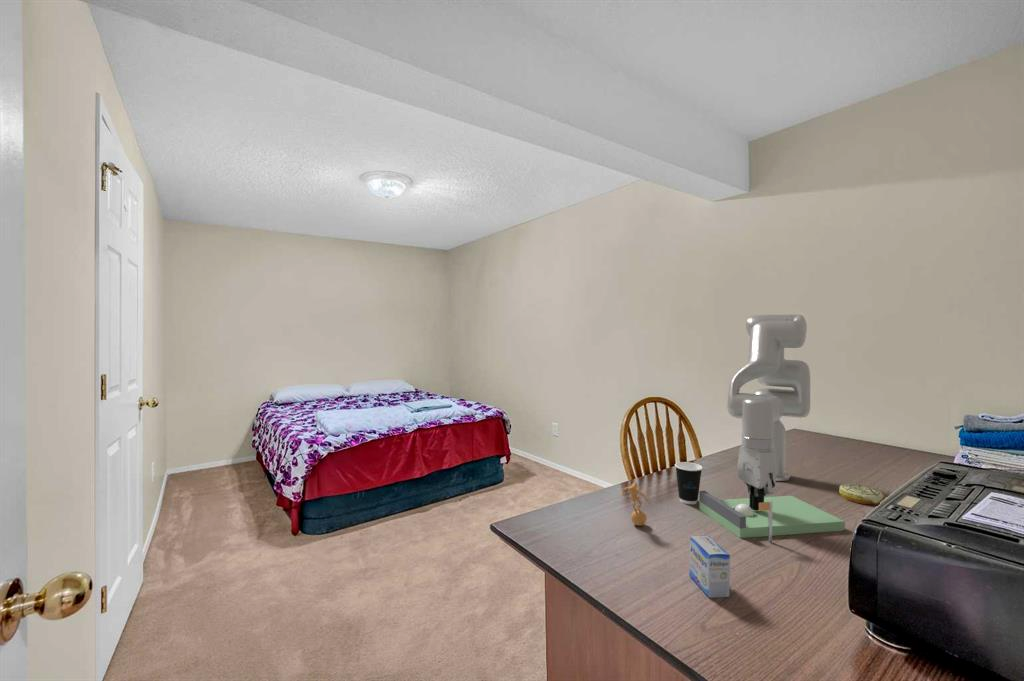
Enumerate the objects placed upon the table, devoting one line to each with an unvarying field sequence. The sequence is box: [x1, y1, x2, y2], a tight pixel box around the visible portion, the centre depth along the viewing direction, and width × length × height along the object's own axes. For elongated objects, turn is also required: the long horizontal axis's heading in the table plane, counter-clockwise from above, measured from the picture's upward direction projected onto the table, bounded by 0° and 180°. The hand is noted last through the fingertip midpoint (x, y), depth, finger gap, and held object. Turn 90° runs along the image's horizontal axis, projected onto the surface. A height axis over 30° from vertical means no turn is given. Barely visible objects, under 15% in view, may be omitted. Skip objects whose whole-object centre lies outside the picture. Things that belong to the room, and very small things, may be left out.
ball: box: [735, 504, 753, 517], centre depth 118 cm, size 4×4×4 cm
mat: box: [698, 490, 846, 539], centre depth 120 cm, size 18×30×5 cm, turn 98°
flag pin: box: [759, 501, 773, 544], centre depth 107 cm, size 1×4×10 cm, turn 99°
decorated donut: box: [838, 483, 884, 506], centre depth 134 cm, size 10×11×4 cm
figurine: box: [621, 482, 651, 527], centre depth 116 cm, size 8×6×12 cm
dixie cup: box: [674, 461, 703, 505], centre depth 133 cm, size 8×8×11 cm
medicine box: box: [688, 535, 731, 599], centre depth 88 cm, size 8×4×9 cm, turn 5°
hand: (756, 509), depth 119 cm, fingers closed
